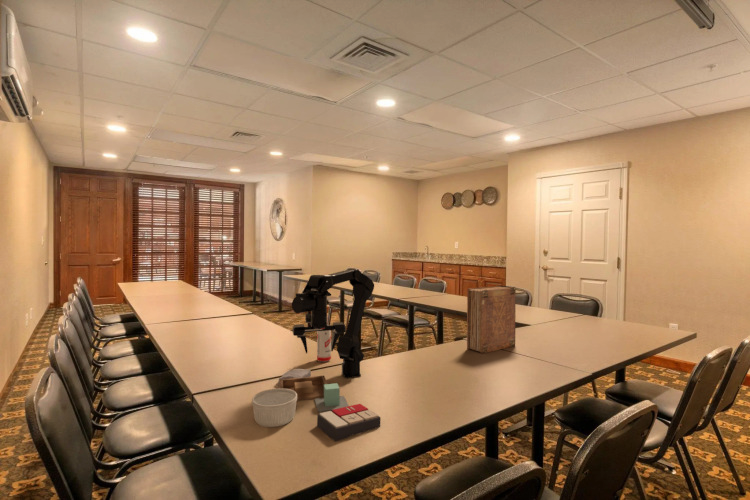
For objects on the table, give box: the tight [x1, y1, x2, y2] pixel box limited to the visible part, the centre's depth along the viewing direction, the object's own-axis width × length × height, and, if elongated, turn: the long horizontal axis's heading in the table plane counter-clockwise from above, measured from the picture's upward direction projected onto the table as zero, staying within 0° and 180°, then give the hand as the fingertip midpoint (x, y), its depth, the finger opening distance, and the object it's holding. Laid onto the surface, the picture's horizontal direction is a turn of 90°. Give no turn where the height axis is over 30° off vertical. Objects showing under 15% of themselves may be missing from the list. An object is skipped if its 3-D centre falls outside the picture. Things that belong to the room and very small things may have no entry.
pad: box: [314, 395, 350, 413], centre depth 128 cm, size 10×10×1 cm
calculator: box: [316, 403, 381, 442], centre depth 112 cm, size 11×4×15 cm
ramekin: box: [251, 387, 298, 428], centre depth 117 cm, size 13×13×7 cm
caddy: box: [279, 375, 328, 402], centre depth 137 cm, size 16×12×4 cm
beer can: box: [316, 323, 332, 363], centre depth 175 cm, size 6×6×16 cm
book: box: [466, 285, 517, 354], centre depth 195 cm, size 25×9×30 cm, turn 123°
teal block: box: [324, 382, 341, 407], centre depth 128 cm, size 4×4×6 cm
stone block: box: [278, 368, 312, 386], centre depth 149 cm, size 12×5×10 cm
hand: (319, 352), depth 142 cm, fingers open, 9 cm apart
